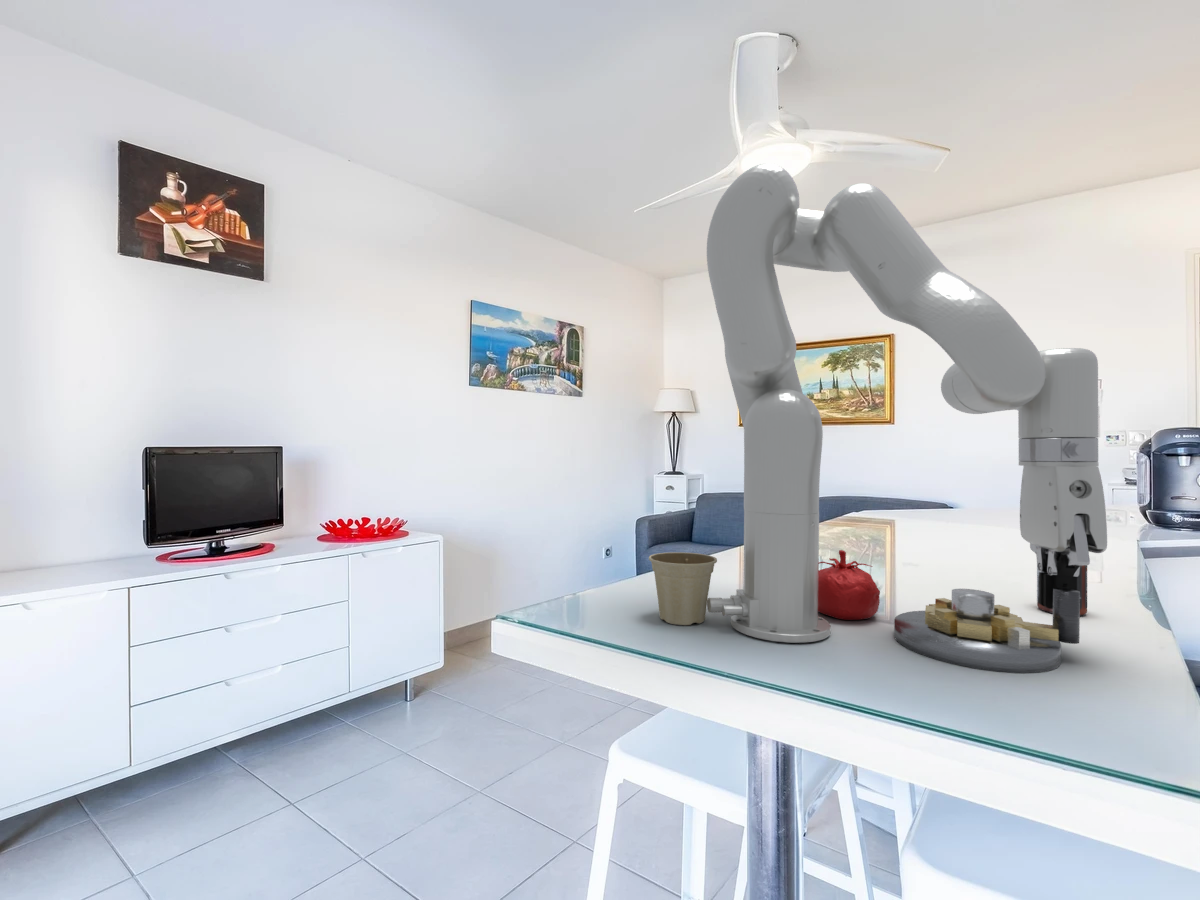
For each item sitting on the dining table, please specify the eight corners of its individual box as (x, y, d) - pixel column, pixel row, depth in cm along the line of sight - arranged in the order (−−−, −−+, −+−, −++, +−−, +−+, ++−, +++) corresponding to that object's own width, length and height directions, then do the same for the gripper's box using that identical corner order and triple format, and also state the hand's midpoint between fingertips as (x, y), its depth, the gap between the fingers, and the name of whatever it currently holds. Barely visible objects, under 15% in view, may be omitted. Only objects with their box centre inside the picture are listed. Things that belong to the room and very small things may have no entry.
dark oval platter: (954, 674, 62) (955, 613, 62) (867, 626, 79) (868, 578, 79) (1102, 671, 63) (1102, 611, 63) (985, 624, 80) (985, 576, 80)
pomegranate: (833, 627, 78) (834, 558, 78) (794, 607, 88) (794, 546, 88) (897, 623, 80) (898, 556, 80) (852, 604, 90) (852, 544, 90)
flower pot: (643, 610, 86) (643, 551, 85) (706, 609, 86) (706, 551, 86) (654, 630, 76) (655, 564, 76) (725, 629, 77) (725, 563, 77)
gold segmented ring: (924, 631, 69) (924, 583, 69) (926, 611, 78) (926, 568, 78) (1088, 655, 62) (1089, 601, 62) (1070, 630, 70) (1071, 583, 70)
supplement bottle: (1068, 606, 90) (1069, 533, 90) (1097, 618, 84) (1098, 539, 84) (1027, 605, 91) (1028, 532, 91) (1053, 616, 85) (1054, 538, 85)
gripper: (1136, 454, 62) (1137, 628, 62) (1059, 453, 76) (1060, 594, 76) (1054, 454, 63) (1055, 623, 63) (994, 453, 78) (995, 591, 78)
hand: (1057, 607), depth 70 cm, fingers closed
